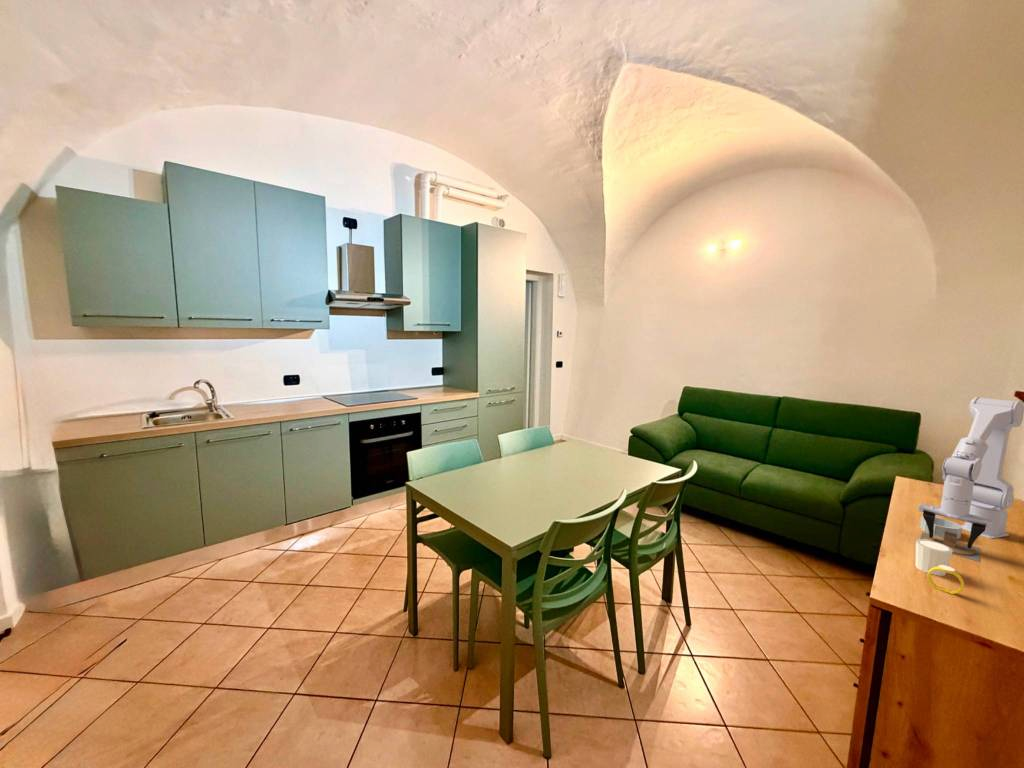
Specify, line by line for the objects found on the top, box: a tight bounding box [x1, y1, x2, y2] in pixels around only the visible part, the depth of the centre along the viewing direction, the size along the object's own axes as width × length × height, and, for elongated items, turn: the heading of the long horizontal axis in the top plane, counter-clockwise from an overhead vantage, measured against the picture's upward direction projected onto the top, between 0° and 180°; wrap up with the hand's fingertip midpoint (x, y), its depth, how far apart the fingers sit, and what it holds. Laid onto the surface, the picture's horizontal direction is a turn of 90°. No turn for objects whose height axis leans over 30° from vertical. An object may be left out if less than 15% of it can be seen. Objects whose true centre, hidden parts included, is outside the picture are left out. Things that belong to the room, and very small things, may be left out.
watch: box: [927, 565, 965, 595], centre depth 98 cm, size 6×3×6 cm, turn 38°
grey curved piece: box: [919, 515, 963, 540], centre depth 128 cm, size 9×9×4 cm
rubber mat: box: [919, 532, 981, 563], centre depth 119 cm, size 12×12×1 cm
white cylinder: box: [915, 538, 953, 577], centre depth 106 cm, size 7×7×7 cm
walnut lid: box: [924, 531, 976, 556], centre depth 119 cm, size 10×10×4 cm
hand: (949, 541), depth 119 cm, fingers open, 7 cm apart
